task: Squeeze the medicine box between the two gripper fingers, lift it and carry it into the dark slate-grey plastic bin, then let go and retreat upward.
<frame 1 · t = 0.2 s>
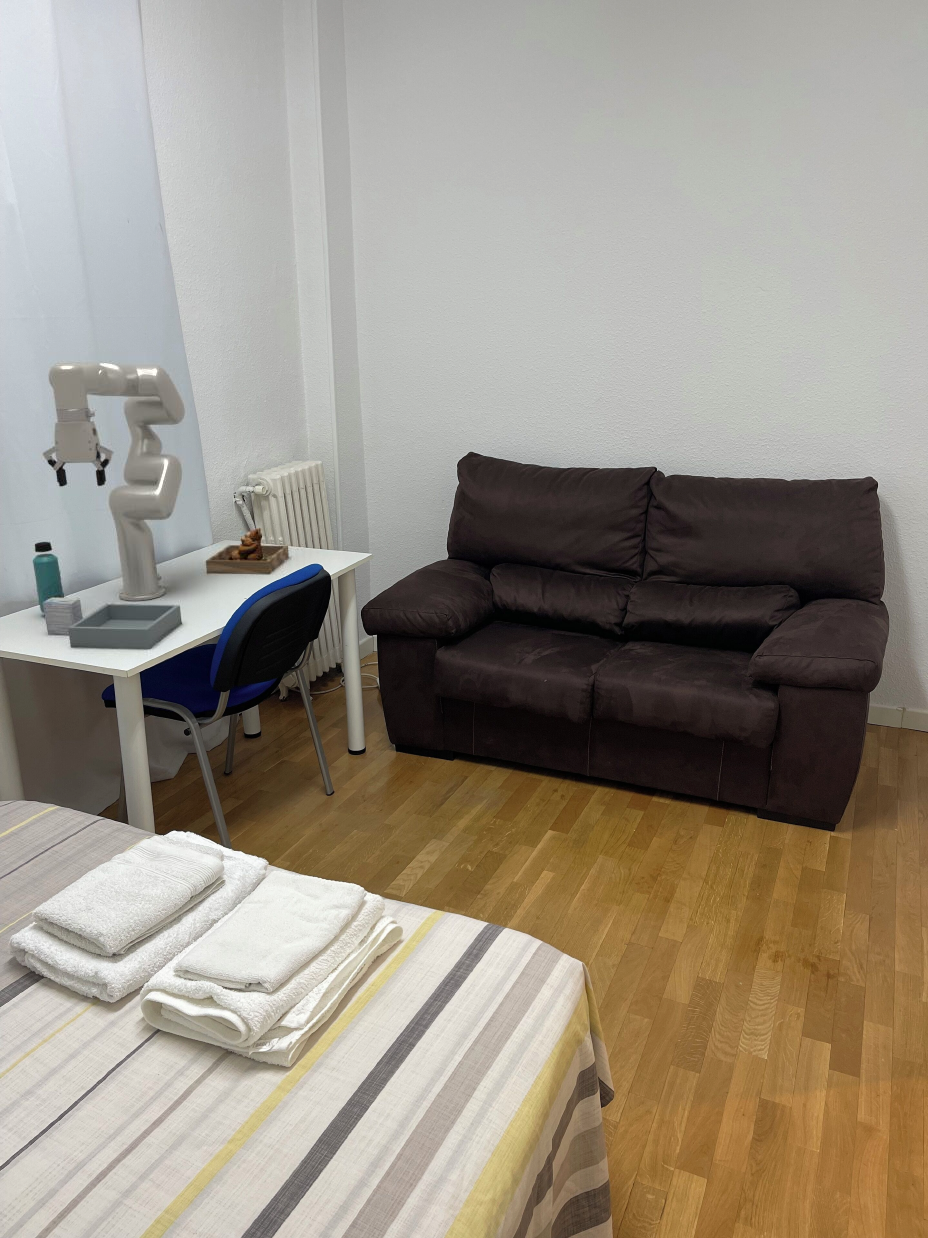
hand: (82, 485, 243), 36 cm above the table, tool pointing down, fingers open, 9 cm apart
wooden tray: (249, 565, 308), on the table
bear figurine: (248, 567, 308), resting in wooden tray
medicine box: (66, 633, 246), on the table
beverage bottle: (53, 615, 260), on the table
bin: (128, 635, 243), on the table
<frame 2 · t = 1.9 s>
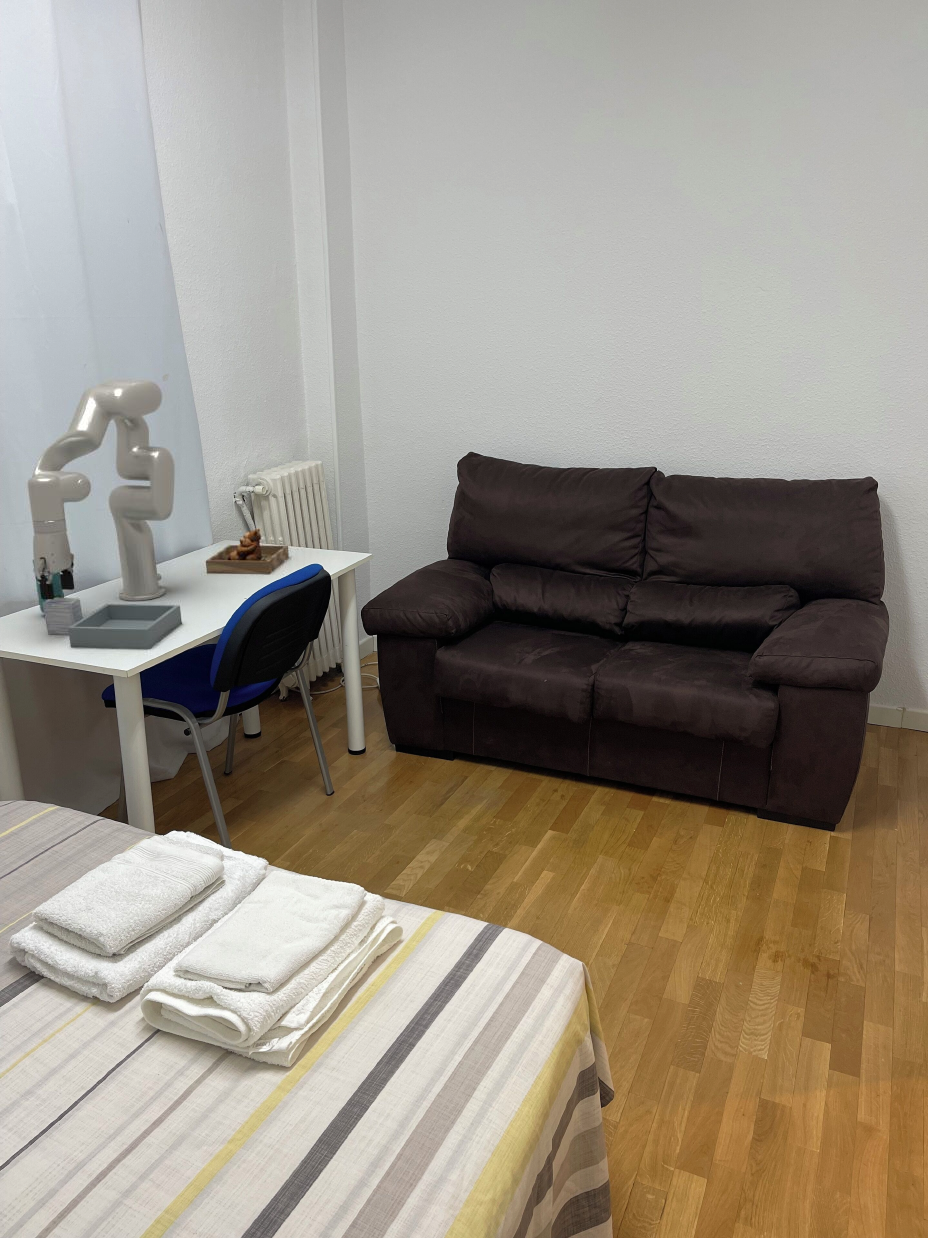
hand: (58, 594, 242), 10 cm above the table, tool pointing down, fingers open, 9 cm apart
bear figurine: (247, 567, 307), resting in wooden tray
everything else where it was.
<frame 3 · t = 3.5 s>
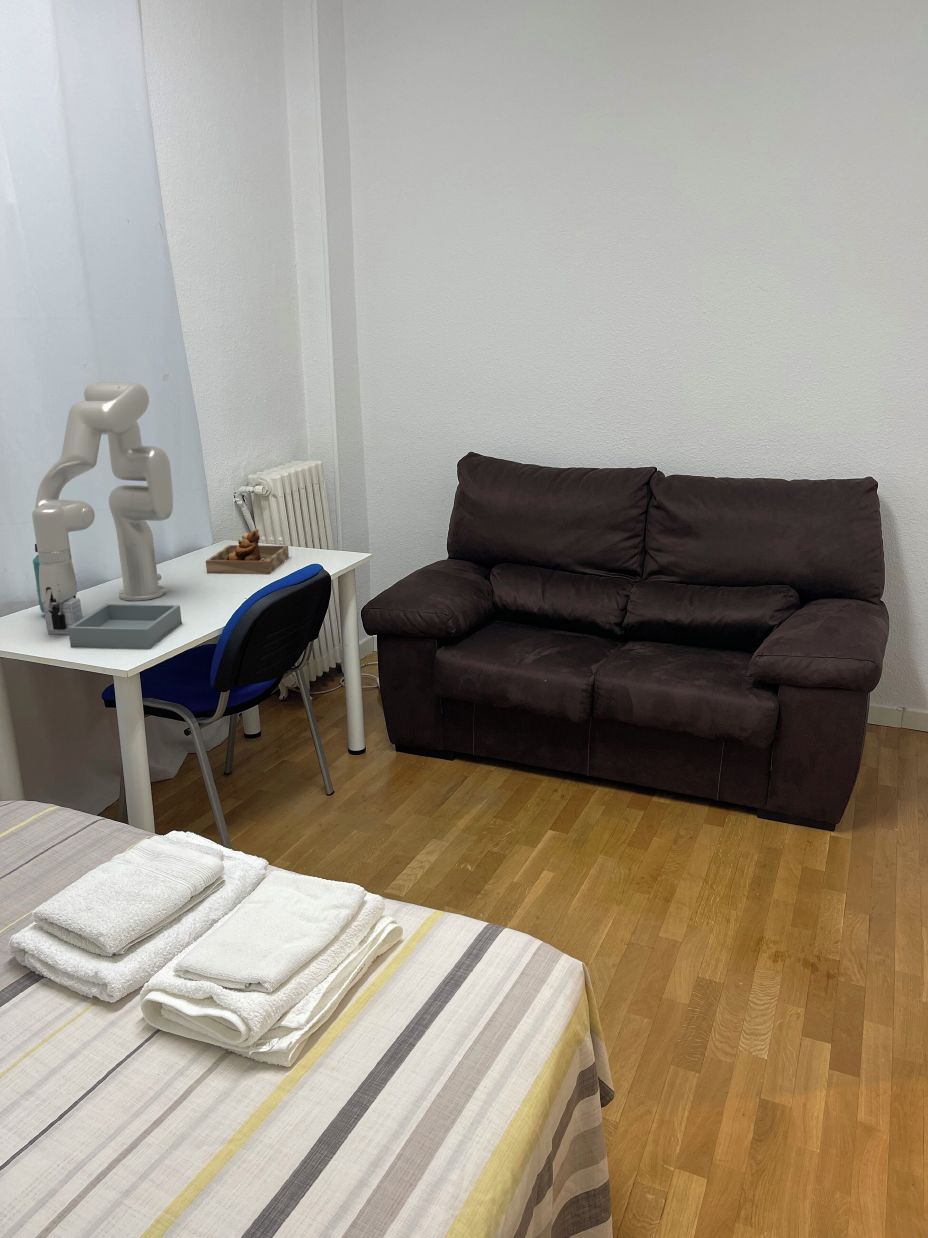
hand: (65, 625, 245), 2 cm above the table, tool pointing down, fingers closed on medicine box, 4 cm apart
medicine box: (66, 633, 246), on the table, touching gripper
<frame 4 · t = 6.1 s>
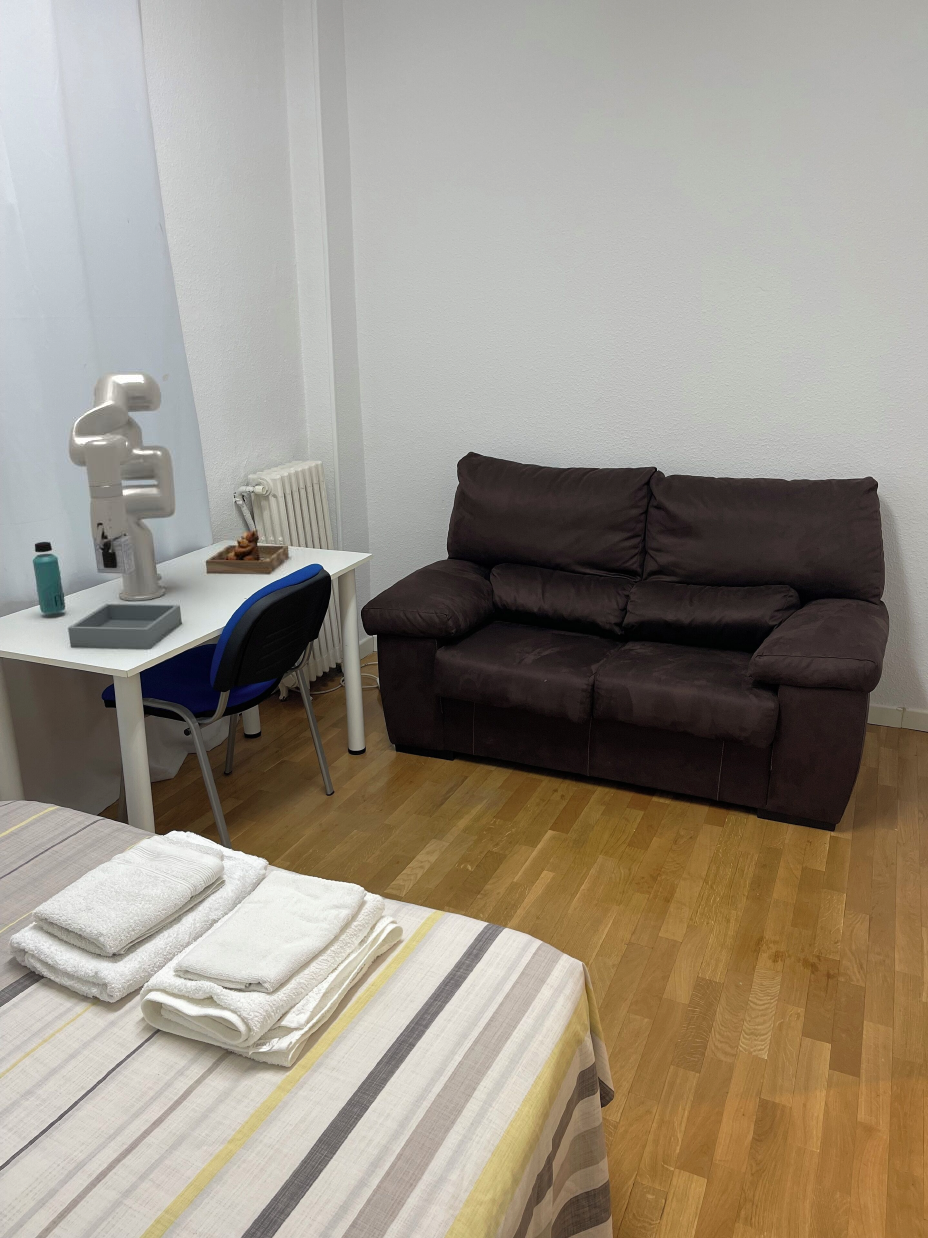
hand: (115, 564, 237), 18 cm above the table, tool pointing down, fingers closed on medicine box, 4 cm apart
bear figurine: (245, 568, 306), resting in wooden tray
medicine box: (116, 572, 238), point 16 cm above the table, touching gripper
everything else where it was.
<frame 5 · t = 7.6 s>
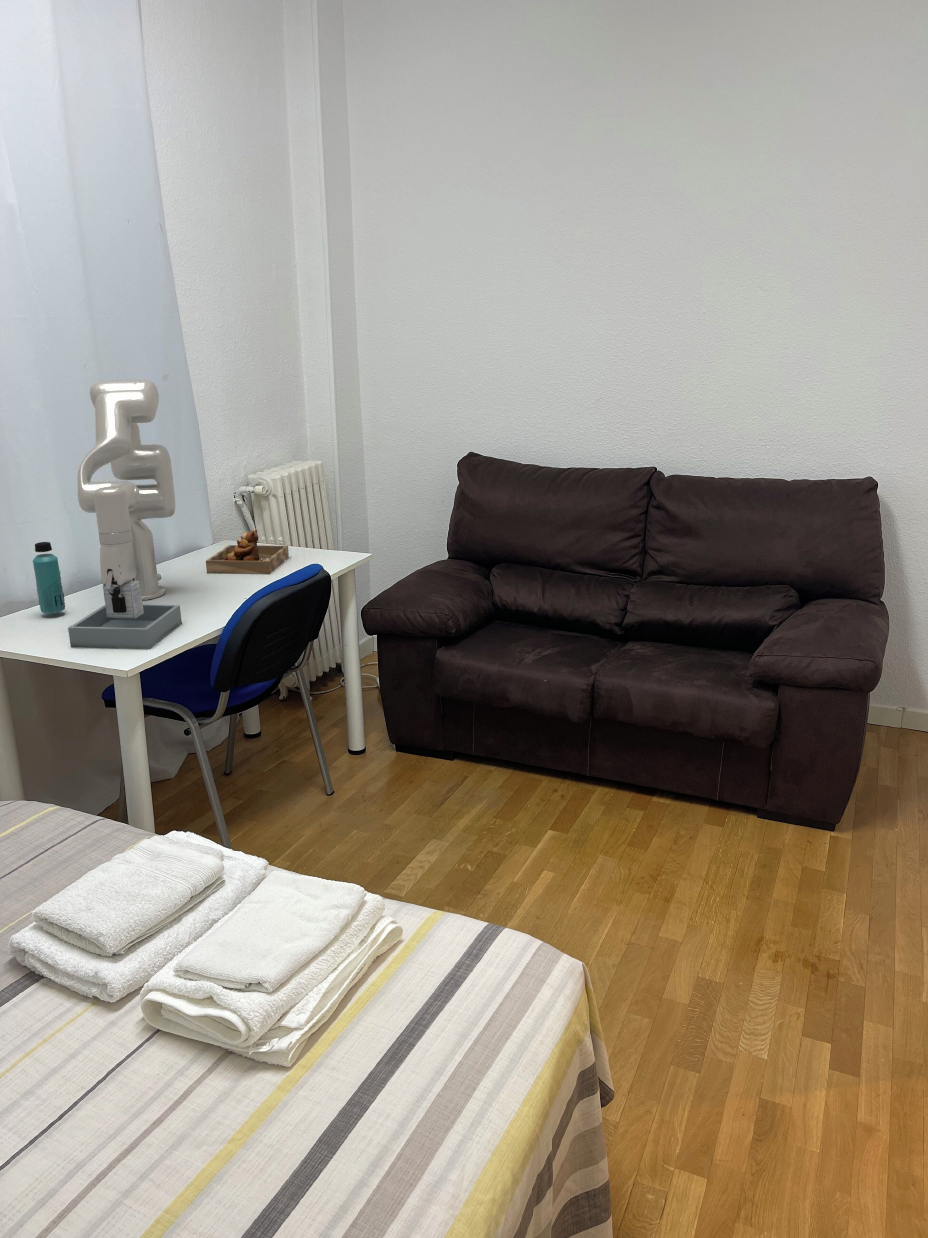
hand: (124, 608, 241), 7 cm above the table, tool pointing down, fingers closed on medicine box, 4 cm apart
bear figurine: (245, 568, 306), resting in wooden tray
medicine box: (125, 616, 241), point 5 cm above the table, touching gripper
everything else where it was.
when the fingers open (5 cm above the table, at t = 8.6 s): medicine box drops 2 cm, resting on bin.
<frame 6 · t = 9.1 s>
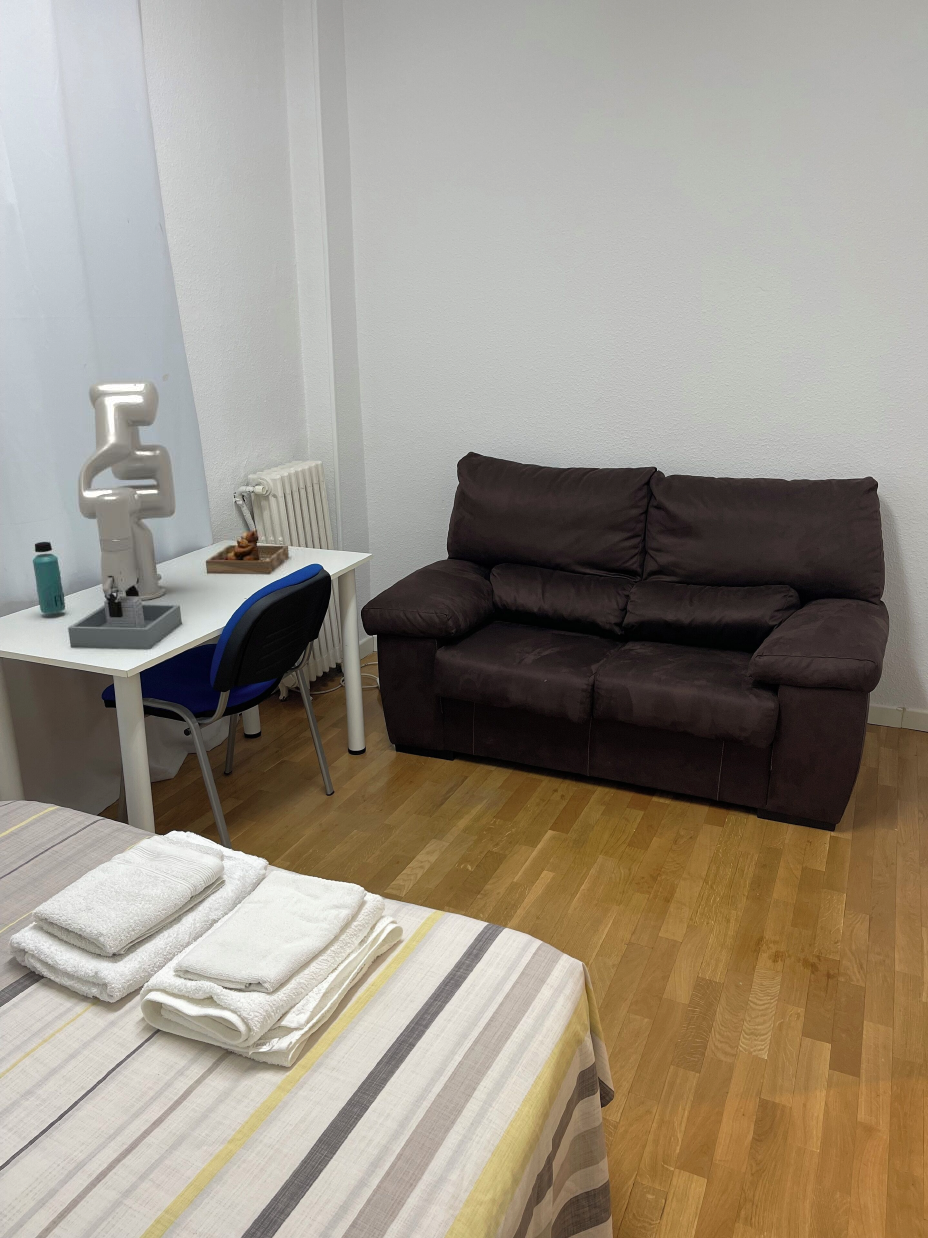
hand: (125, 611, 241), 6 cm above the table, tool pointing down, fingers open, 9 cm apart
bear figurine: (245, 568, 306), resting in wooden tray
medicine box: (127, 632, 242), point 1 cm above the table, touching bin
everything else where it was.
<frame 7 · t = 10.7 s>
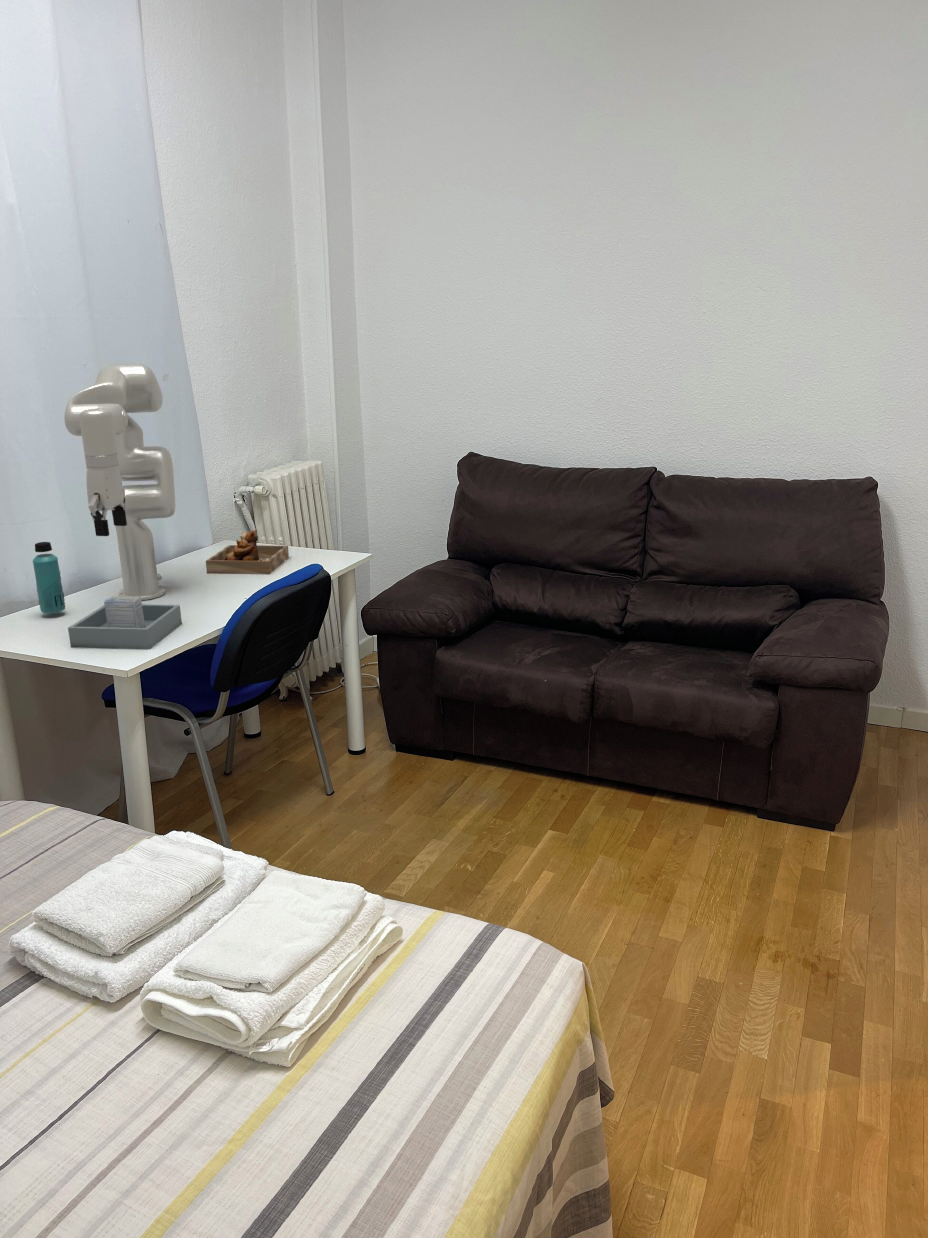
hand: (111, 530, 237), 26 cm above the table, tool pointing down, fingers open, 9 cm apart
bear figurine: (244, 568, 306), resting in wooden tray
everything else where it was.
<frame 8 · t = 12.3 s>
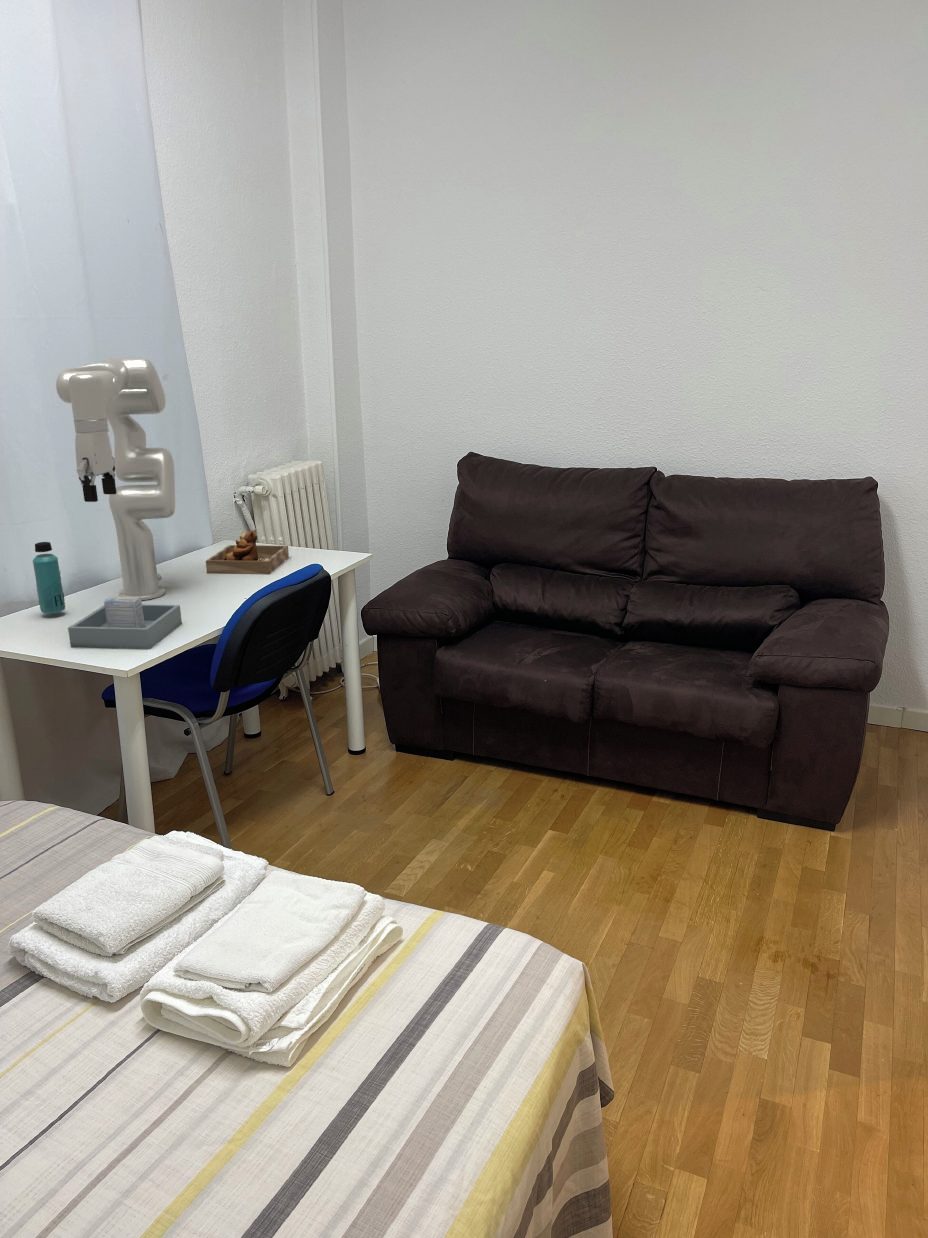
hand: (100, 497, 236), 34 cm above the table, tool pointing down, fingers open, 9 cm apart
nothing on the table moved.
at the end: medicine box inside the target area on the bin (0.3 cm from its centre), point 0.8 cm above the bin's base; the gripper is holding nothing; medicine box moved 17.0 cm from its start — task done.
